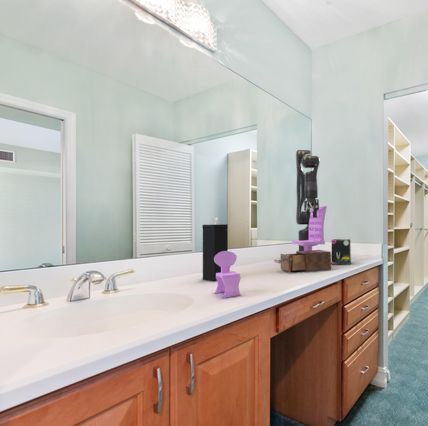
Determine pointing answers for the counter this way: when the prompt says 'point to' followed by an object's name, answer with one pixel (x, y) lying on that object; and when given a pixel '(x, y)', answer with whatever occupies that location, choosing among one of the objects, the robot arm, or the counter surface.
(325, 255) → the cabinet
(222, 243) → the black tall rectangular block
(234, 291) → the toy chair
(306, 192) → the robot arm
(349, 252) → the tampon box
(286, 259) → the drawer
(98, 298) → the counter surface
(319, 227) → the purple chair
